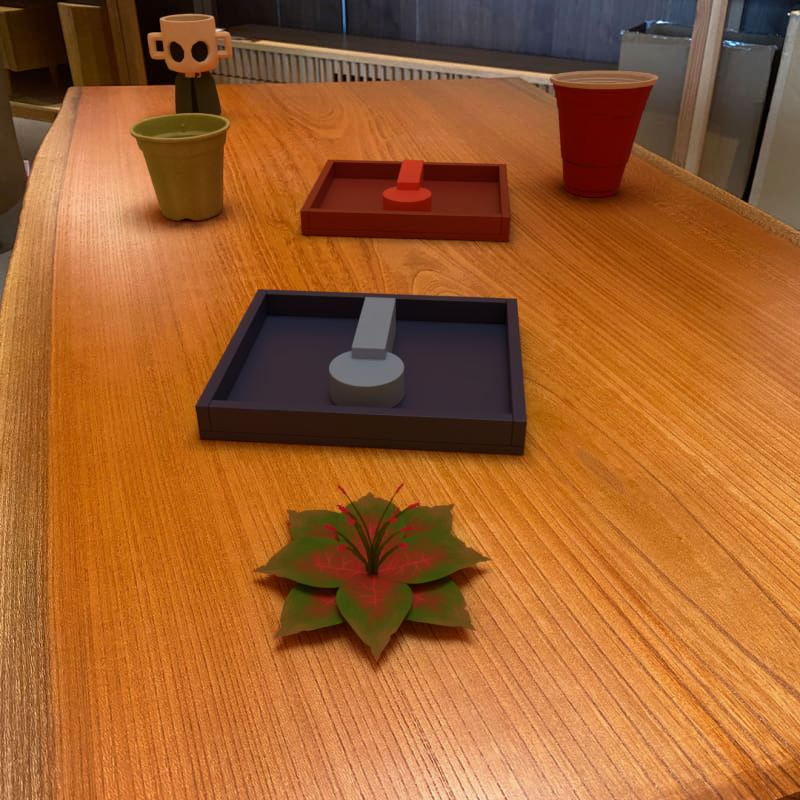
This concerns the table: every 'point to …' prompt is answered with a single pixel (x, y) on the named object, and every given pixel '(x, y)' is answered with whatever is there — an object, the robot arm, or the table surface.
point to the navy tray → (414, 344)
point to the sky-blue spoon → (370, 361)
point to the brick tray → (449, 218)
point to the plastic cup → (598, 126)
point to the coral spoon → (408, 190)
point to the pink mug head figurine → (192, 59)
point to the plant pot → (185, 162)
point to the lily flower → (372, 569)
